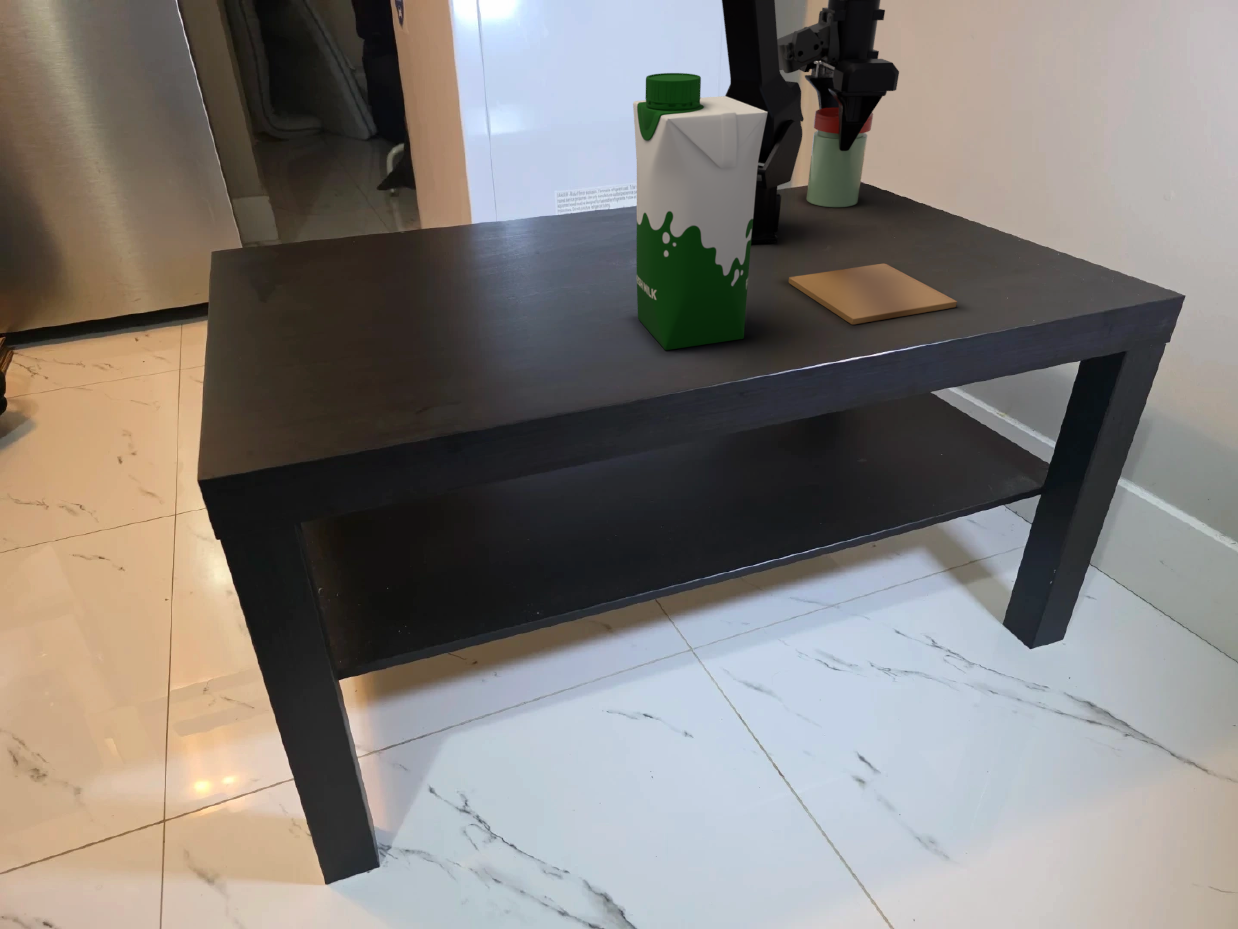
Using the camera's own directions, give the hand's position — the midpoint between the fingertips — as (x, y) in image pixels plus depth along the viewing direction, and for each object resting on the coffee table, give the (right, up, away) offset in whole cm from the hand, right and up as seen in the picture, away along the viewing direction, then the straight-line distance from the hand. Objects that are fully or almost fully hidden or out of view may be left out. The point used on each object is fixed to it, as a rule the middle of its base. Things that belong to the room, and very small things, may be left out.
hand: (835, 144), depth 100 cm
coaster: (-3, -23, -23) cm, 33 cm away
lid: (+1, +3, -2) cm, 3 cm away
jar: (0, -6, +4) cm, 7 cm away
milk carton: (-21, -28, -29) cm, 45 cm away
